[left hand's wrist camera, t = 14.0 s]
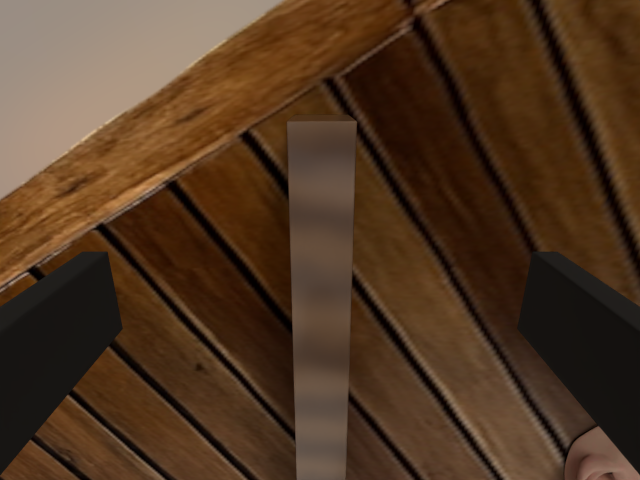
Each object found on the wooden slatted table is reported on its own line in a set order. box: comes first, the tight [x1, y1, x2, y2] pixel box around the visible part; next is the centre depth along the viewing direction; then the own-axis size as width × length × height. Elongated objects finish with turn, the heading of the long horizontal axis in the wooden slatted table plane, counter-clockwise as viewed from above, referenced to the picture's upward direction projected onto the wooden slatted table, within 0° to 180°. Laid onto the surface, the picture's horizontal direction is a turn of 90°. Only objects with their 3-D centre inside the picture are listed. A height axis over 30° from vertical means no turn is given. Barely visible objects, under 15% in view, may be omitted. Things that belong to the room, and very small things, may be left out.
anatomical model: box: [564, 426, 640, 480], centre depth 47 cm, size 13×4×12 cm
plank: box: [287, 115, 357, 480], centre depth 39 cm, size 47×5×8 cm, turn 0°
